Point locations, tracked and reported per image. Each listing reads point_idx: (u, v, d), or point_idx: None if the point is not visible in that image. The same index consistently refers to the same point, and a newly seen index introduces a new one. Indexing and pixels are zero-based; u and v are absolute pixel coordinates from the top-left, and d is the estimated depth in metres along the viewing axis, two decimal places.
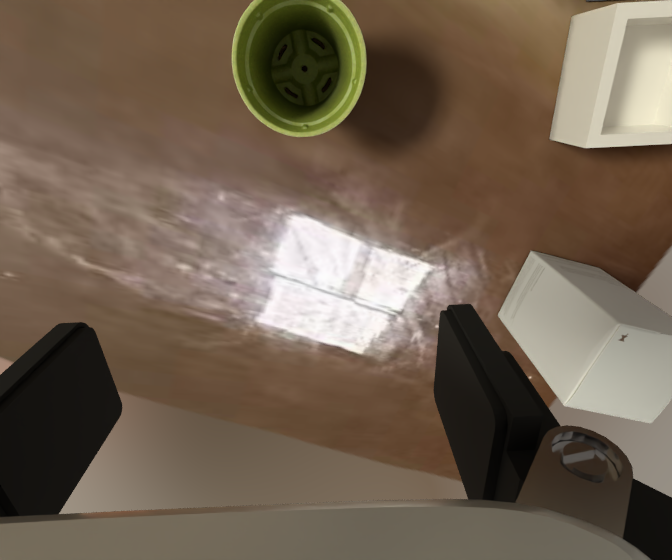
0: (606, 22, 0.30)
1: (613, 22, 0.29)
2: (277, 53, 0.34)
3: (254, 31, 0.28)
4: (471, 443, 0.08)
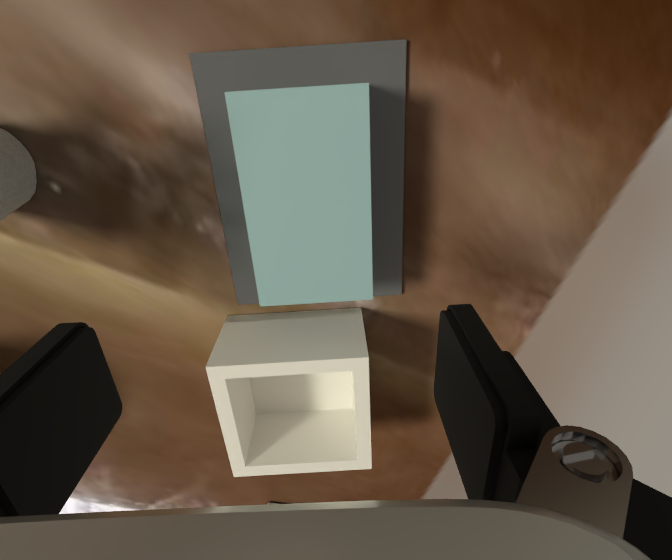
0: None
1: (210, 381, 0.25)
2: None
3: None
4: (471, 443, 0.08)
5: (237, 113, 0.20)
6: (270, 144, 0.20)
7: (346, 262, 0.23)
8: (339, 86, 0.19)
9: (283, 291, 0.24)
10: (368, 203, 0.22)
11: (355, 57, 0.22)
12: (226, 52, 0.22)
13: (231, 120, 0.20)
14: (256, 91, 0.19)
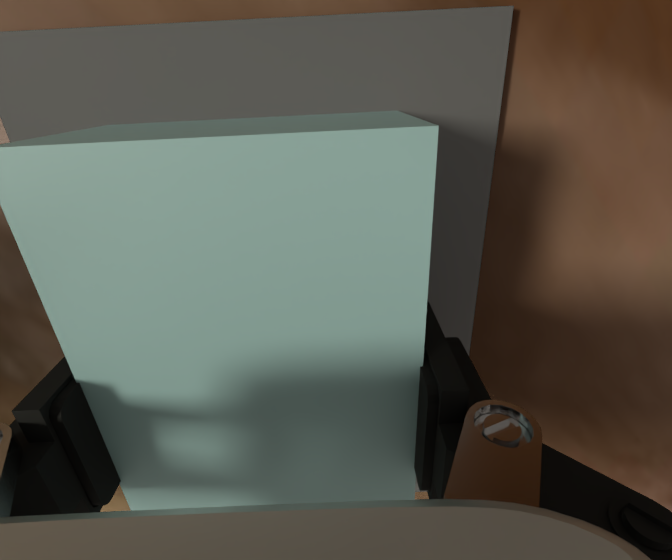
0: None
1: None
2: None
3: None
4: None
5: (33, 209, 0.06)
6: (146, 291, 0.07)
7: None
8: (344, 136, 0.06)
9: None
10: (412, 418, 0.09)
11: (383, 49, 0.09)
12: (62, 32, 0.09)
13: (17, 229, 0.07)
14: (79, 147, 0.06)
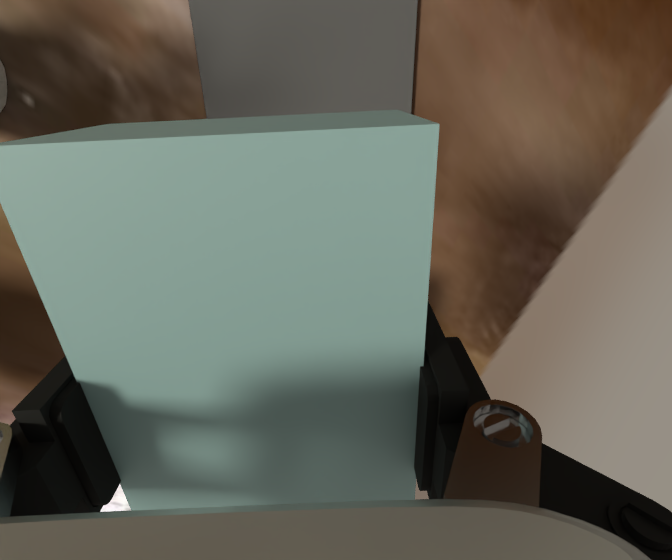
0: None
1: None
2: None
3: None
4: None
5: (33, 208, 0.06)
6: (146, 290, 0.07)
7: None
8: (344, 134, 0.06)
9: None
10: (413, 417, 0.09)
11: None
12: None
13: (18, 227, 0.07)
14: (80, 146, 0.06)
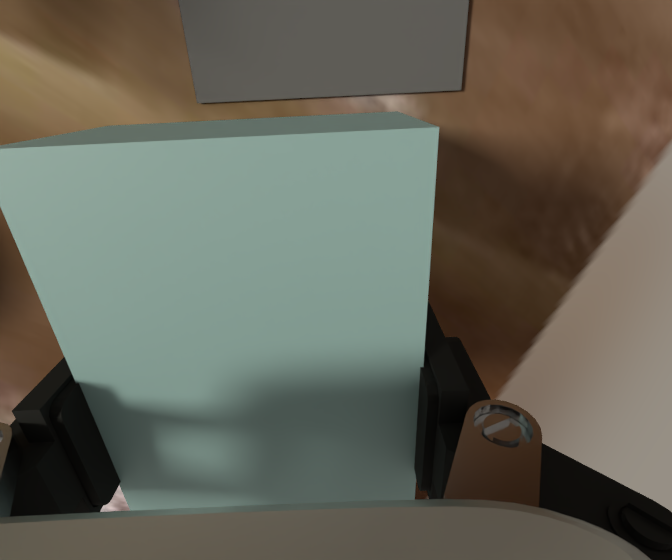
0: None
1: None
2: None
3: None
4: None
5: (33, 211, 0.06)
6: (145, 293, 0.07)
7: None
8: (344, 137, 0.06)
9: None
10: (413, 420, 0.09)
11: None
12: None
13: (17, 230, 0.07)
14: (79, 149, 0.06)
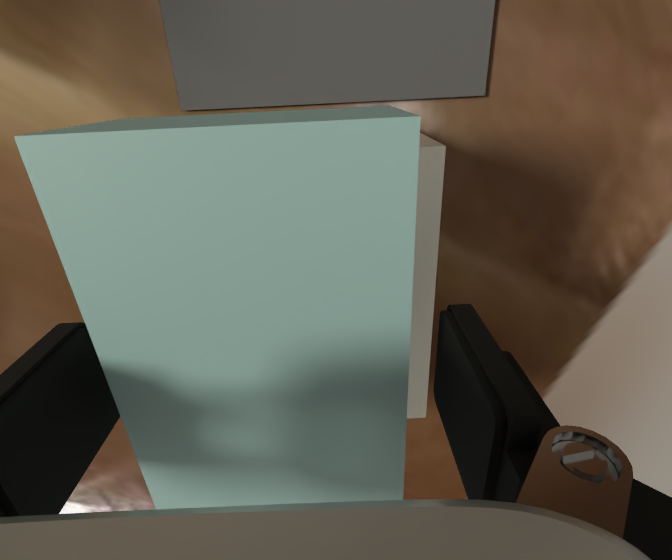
0: None
1: None
2: None
3: None
4: (471, 443, 0.08)
5: (62, 191, 0.07)
6: (160, 267, 0.08)
7: (349, 485, 0.11)
8: (337, 125, 0.07)
9: None
10: (401, 386, 0.09)
11: None
12: None
13: (47, 208, 0.07)
14: (104, 135, 0.07)
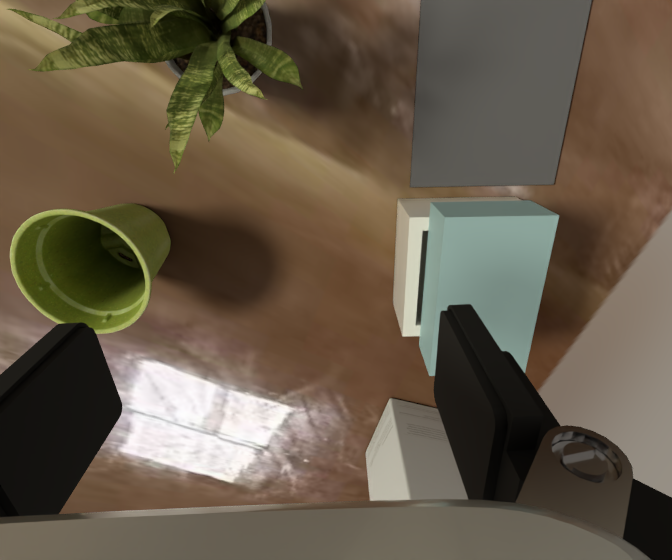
0: (406, 228, 0.30)
1: (409, 232, 0.29)
2: None
3: (44, 235, 0.28)
4: (471, 443, 0.08)
5: (451, 232, 0.25)
6: (471, 255, 0.25)
7: (509, 344, 0.28)
8: (535, 217, 0.24)
9: None
10: (538, 301, 0.27)
11: None
12: None
13: (444, 237, 0.25)
14: (469, 217, 0.24)
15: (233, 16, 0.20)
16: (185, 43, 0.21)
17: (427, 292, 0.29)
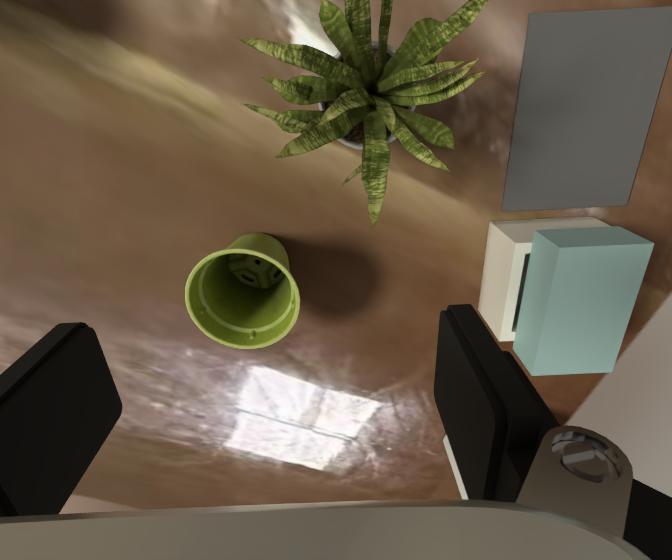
0: (509, 251, 0.35)
1: (513, 255, 0.34)
2: None
3: (206, 267, 0.33)
4: (471, 443, 0.08)
5: (563, 259, 0.30)
6: (578, 277, 0.30)
7: (602, 348, 0.33)
8: (634, 245, 0.29)
9: (552, 366, 0.34)
10: (629, 312, 0.32)
11: (644, 18, 0.31)
12: (556, 13, 0.31)
13: (557, 263, 0.30)
14: (580, 247, 0.29)
15: (406, 97, 0.25)
16: (359, 116, 0.26)
17: (528, 305, 0.35)
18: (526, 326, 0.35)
